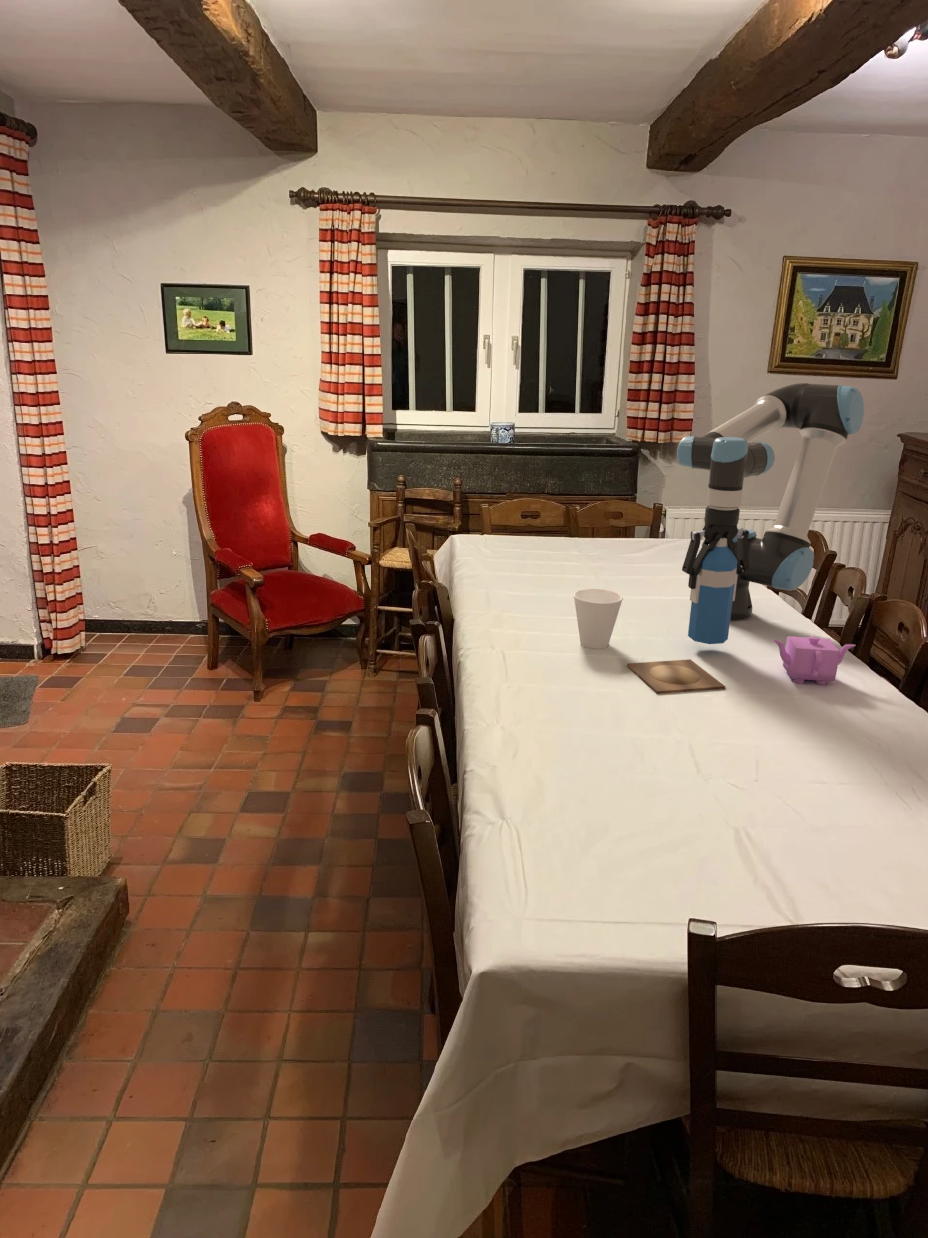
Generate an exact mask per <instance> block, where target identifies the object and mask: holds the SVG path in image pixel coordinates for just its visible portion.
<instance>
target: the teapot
mask: <svg viewBox="0 0 928 1238" xmlns="http://www.w3.org/2000/svg"><path fill="white" fill-rule="evenodd" d="M771 641H772V642H774V643H776V644H777V646H778V650H779V656H780V659H781V661H782V667H783V668H784V670H785V671H786V672H787V674H788V676H789V677H790V679H791V680H793V679H794V683H797V684H804V682H805V680H806V681H816V684H817V685H822V686H826V685H827V683H826V682H836V677H837V672H838V666H839V665H840V664H841V662H842V661H843V659H844V657H845V655H846V653H847V652H848V651H849V650H850V649H851V648H854V647H856V646H857V645H856V644H853V643H850V644H849V643H848V644H847V643H846V644H844V645H843V646H842V647H841V648H840V650H839V648H838V647H837V646H836V645H835V644H834V642H833V641H832V640H831V639H830V638H823V637H822V638H821V637H818V636H814V635H811V636H808V637H807V636H806V637H805V636H793V635H792V636H789V635H788V636H787V637H786V643H785V644H784V642H783V641H782V640H780V639H771Z"/></svg>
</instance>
